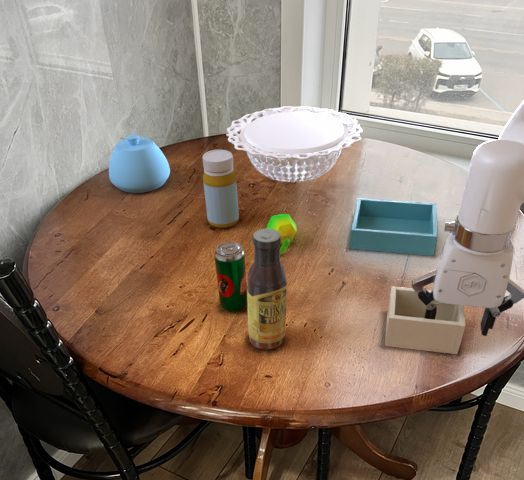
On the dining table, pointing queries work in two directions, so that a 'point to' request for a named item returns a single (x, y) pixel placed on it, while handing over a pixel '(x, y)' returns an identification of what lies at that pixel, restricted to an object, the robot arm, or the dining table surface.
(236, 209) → the bottle
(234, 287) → the soda can
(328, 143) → the white lattice bowl
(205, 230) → the dining table surface
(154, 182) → the sugar bowl
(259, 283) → the sauce bottle
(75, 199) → the dining table surface
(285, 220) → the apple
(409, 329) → the lone bin
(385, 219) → the bin
